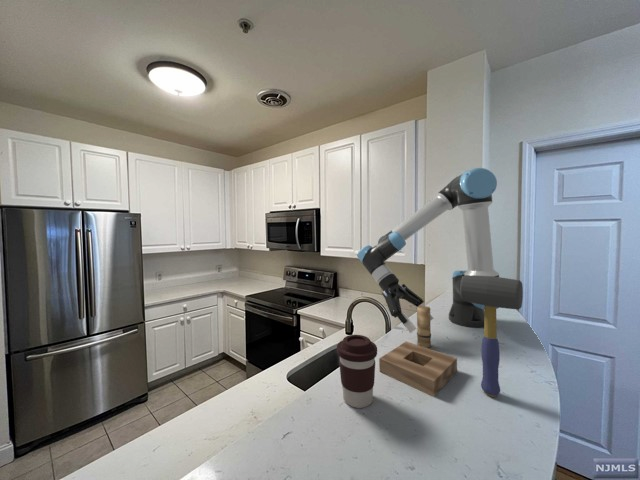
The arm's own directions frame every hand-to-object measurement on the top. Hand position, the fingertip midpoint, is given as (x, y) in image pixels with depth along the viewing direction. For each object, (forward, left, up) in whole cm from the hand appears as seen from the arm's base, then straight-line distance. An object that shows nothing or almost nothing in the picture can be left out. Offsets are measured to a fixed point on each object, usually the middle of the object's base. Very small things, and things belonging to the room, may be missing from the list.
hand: (422, 325), depth 89 cm
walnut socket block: (+16, +6, -8) cm, 19 cm away
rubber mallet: (+14, +24, -8) cm, 28 cm away
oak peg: (0, 0, -8) cm, 8 cm away
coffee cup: (+39, +1, -8) cm, 39 cm away
